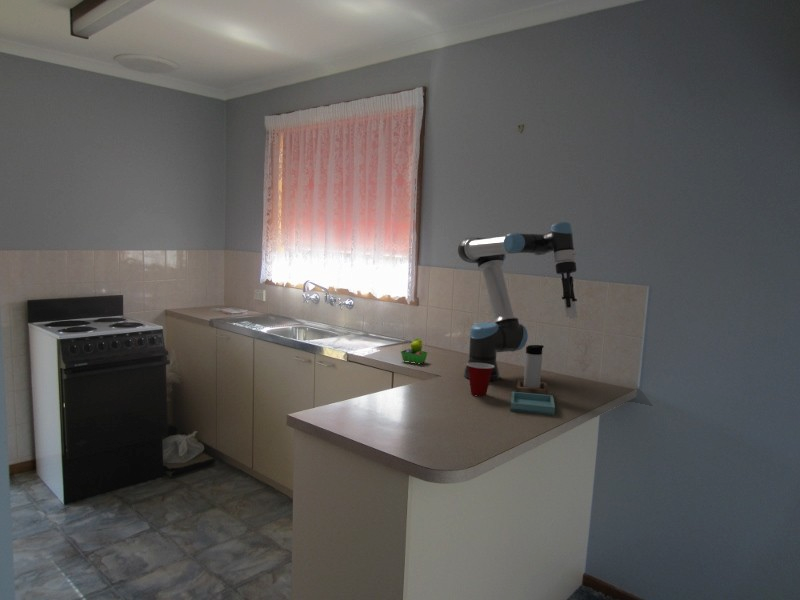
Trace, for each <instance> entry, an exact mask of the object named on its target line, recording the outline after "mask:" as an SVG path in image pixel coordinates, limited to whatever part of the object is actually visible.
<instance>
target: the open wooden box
mask: <svg viewBox="0 0 800 600" xmlns="http://www.w3.org/2000/svg"><path fill="white" fill-rule="evenodd" d="M523 386H524V379H523V380H521V379H517V381H516V392H522V393H533V394H543V395H549V388H548V387H549V386H548V383H547V382H545V381H544V382H542V381H540V389H537V388H526V387H523Z"/></svg>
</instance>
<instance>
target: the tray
mask: <svg viewBox="0 0 800 600" xmlns="http://www.w3.org/2000/svg"><path fill="white" fill-rule="evenodd" d="M555 410H556V406H555V400H554V395H553V394H548V395H543V394H533V393H522V392H517V391H511V398H510V410H509V411H510V412H514V411H518V412H517V413H523V412H525V413H524V414H533V413H535V415H543V414H544V416H553V415H554V416H555Z"/></svg>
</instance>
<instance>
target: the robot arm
mask: <svg viewBox="0 0 800 600" xmlns="http://www.w3.org/2000/svg"><path fill="white" fill-rule="evenodd" d="M552 252H553V258H554V263H555V273H556V274H557V275H561V283H562V293H563V295H562V296H561V300H563V301H564V309H565V317H566V318H568V317H569V319H577V318H578V314H577V313H578V312H577V307H576V306H577V305H576V302H577V301H578V300H577V298H576V296H575V291H574V290H575V289H574V277H573V276H571V274H572V273H576V272H577V263H576V262H575V260H576V255H577V253H576V252H575V248H574V238H573V230H572V226H571V223H570V222H567V221H566V222H565V221H562V222H561V221H560V222H556V223H553V224H552V225H551V227H550V232H547V233H541V234H539V233H518V232H514V233H508V234H505V235H499V236H494V237H465V238H464V239H463V240H461V241H460V242H459V244H458V246H457V253H458V256H459V258H460V259H461V260H462V261H464V262H466V263H470V264H477V267H478V271H481V272H482V274H483V276H484V277H483V279H484V281H485V286H486V289H487V294H488V298H489V303H490V306H491V311H492V315H493V319H494V321H493V322H492V321H489V322H485V321H484V322H477V323H475V324H473V325H472V326H471V328H470V334H469V356H468V360H467V363H485V364H490V365H493V366H494V368H493V370H492V373H491V377H490V381H489V382H493V381H498V380H500V370H499V366H498V362H497V354H498V353H507V352H515V351H516V352H518V351H521V350H523V348H524V347H525V346H526V345H527V341H528V334H529V333H528V330H527V328H526V326H525V325H523V324H521V323H520V321H519V318H518V317H516V316H515V315H514V311H513V307H512V303H511V300H510V297H509V292H508V289H507V283H506V281H505V277H504V273H503V269H502V267H503V265H504V261H505V259H506V255H508V254H509V255H510V254H522V253H524V254H526V253H527V254H533V255H535V256H541V255H546V254H548V253H552ZM463 371H464V373H463V376H464V378H466V379H468V380H469V372H468V367H467V365H465V368H464V370H463Z"/></svg>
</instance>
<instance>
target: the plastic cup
mask: <svg viewBox="0 0 800 600" xmlns="http://www.w3.org/2000/svg"><path fill="white" fill-rule="evenodd" d="M466 365H467V367H468V372H469V379H468V380H469V387H470V395H472V394H473V395H472V396H474V395H477V396H476V397H486V396H487V392H488V389H489V385H490V382H491V381H490V377H491V373H492V370H493V368H494V366H493V365H490V364H485V363H468V362H466ZM466 365H465V366H466Z"/></svg>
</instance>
